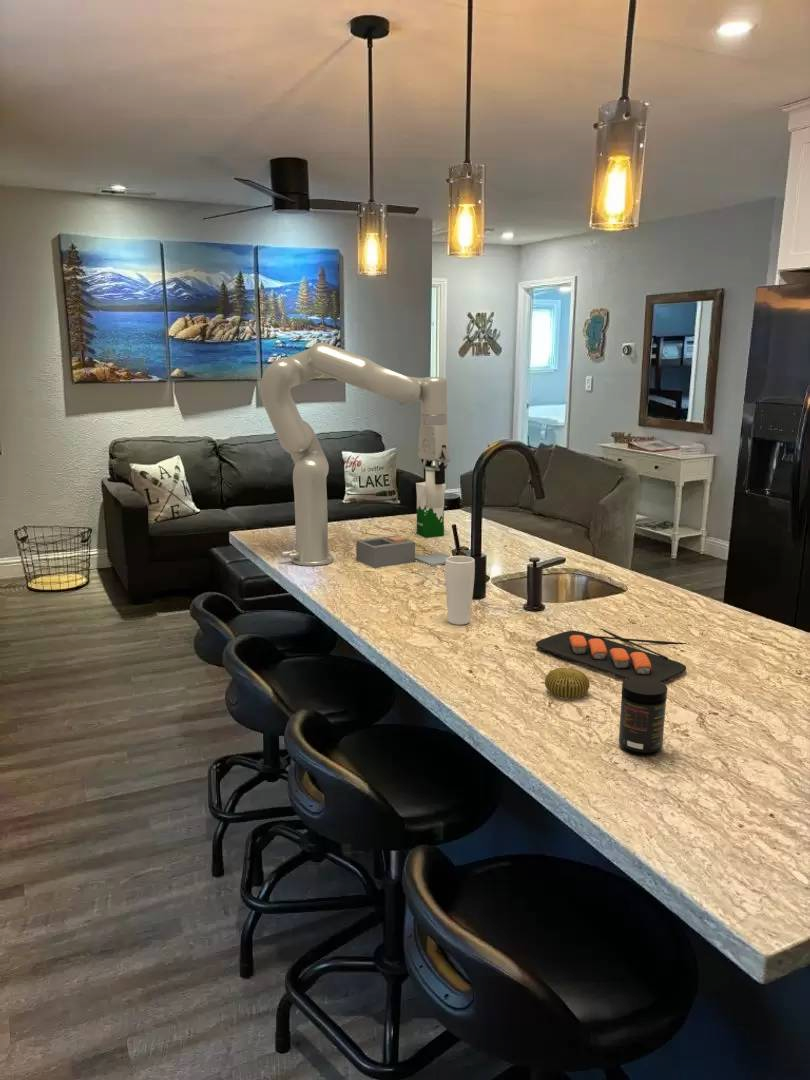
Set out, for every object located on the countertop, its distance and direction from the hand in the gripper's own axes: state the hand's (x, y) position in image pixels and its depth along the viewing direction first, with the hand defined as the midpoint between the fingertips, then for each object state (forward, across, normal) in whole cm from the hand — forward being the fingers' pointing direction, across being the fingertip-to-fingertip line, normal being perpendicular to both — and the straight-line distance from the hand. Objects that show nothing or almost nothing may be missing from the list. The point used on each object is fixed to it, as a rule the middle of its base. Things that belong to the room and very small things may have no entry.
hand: (434, 482), depth 236 cm
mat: (+24, 0, 0) cm, 24 cm away
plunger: (+22, -8, -9) cm, 25 cm away
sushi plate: (+25, +84, -7) cm, 88 cm away
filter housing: (+24, -8, -12) cm, 28 cm away
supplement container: (+25, +115, -37) cm, 124 cm away
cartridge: (+7, 0, 0) cm, 7 cm away
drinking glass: (+24, +50, -26) cm, 62 cm away
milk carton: (+24, -31, +18) cm, 43 cm away
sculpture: (+25, +93, -33) cm, 102 cm away
